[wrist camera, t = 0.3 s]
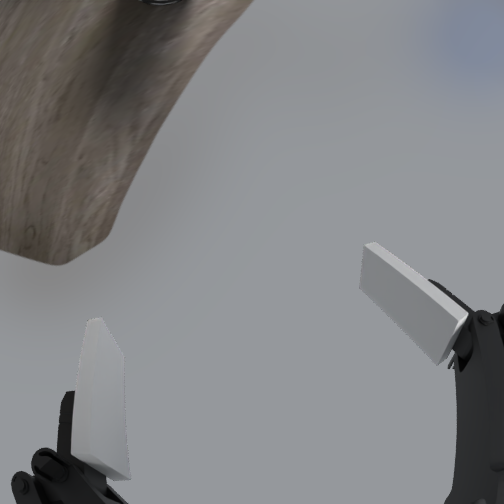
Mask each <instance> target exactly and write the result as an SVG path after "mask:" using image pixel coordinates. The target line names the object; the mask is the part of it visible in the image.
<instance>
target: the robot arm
mask: <svg viewBox="0 0 504 504" xmlns="http://www.w3.org/2000/svg"><path fill="white" fill-rule="evenodd" d="M359 288H360V289H361V290H362V291H363V292H364V293H365V294H366V295H367V296H368V297H369V298H370V299H372V300H373V301H374V302H375V303H376V304H377V305H378V306H379V307H380V308H381V309H382V310H383V311H384V312H385V313H386V314H387V315H388V316H389V317H390V318H391V319H392V320H393V321H394V322H395V323H396V324H397V325H398V326H399V327H400V328H401V329H402V330H403V331H404V332H405V333H406V334H407V335H408V336H409V337H410V338H411V339H412V340H413V341H414V342H415V343H416V344H417V345H418V346H419V348H420V349H422V351H423V352H424V353H425V354H426V355H427V356H428V357H429V358H430V359H431V360H432V361H433V362H434V363H435V364H436V365H439V364H440V363H441V362H443V361H444V360H445V359H447V357H448V355H449V354H450V352H451V350H452V349H453V350H454V351H455V354H454V356H453V357H452V359H451V361H450V363H449V365H448V369H450V367H451V366H452V364H453V362H454V366H453V369H455V381H456V400H457V440H456V458H455V469H454V478H453V486H452V490H451V492H450V494H449V496H448V497H447V498H446V500H445V503H444V504H504V304H503V305H502V307H501V310H500V312H497V313H494V314H491V313H489V312H487V311H484V310H478V311H476V312H474V311H473V310H472V309H471V308H469V307H468V306H467V305H466V304H464V303H463V302H462V301H461V300H459V299H458V298H457V297H456V296H455V295H452V293H451V292H449V291H448V290H446V288H444V287H443V286H442V285H440V284H439V283H437V282H435V281H433V280H430V279H429V280H426V279H425V278H424V277H423V276H421V275H420V274H419V273H417V272H416V271H415V270H413V269H412V268H411V267H409V266H408V265H407V264H405V263H404V262H403V261H401V260H400V259H398V258H397V257H396V256H394V255H393V254H391V253H390V252H389V251H387V250H386V249H384V248H383V247H382V246H380V245H379V244H377V243H376V242H372V243H369V244H366V245H364V248H363V259H362V269H361V277H360V285H359ZM124 366H125V357H124V355H123V353H122V352H121V350H120V349H119V347H118V345H117V343H116V342H115V340H114V338H113V337H112V335H111V333H110V331H109V329H108V328H107V326H106V324H105V322H104V320H103V318H102V317H99V318H94V319H90V320H87V325H86V330H85V334H84V340H83V345H82V350H81V356H80V361H79V368H78V374H77V382H76V389H75V391H69V392H66V394H65V396H64V398H63V400H62V402H61V409H60V417H59V423H60V424H59V427H58V441H57V453H56V452H55V451H54V450H52V449H49V448H41V449H39V450H38V451H36V453H35V454H34V455H33V458H32V461H31V466H32V471H33V473H34V476H31V475H30V474H28V473H26V472H23V471H19V472H17V473H16V474H15V475H14V476H13V478H12V482H11V486H12V492H13V494H14V497H15V500H16V503H17V504H128V503H127V502H126V501H125V500H124V499H123V498H122V497H121V496H120V495H118V494H117V493H116V492H115V491H114V490H113V489H112V488H111V487H110V486H109V485H108V484H107V482H106V477H108V478H110V479H112V480H113V481H119V480H131V475H130V467H129V458H128V447H127V435H126V419H125V388H124V369H125V368H124Z"/></svg>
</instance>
